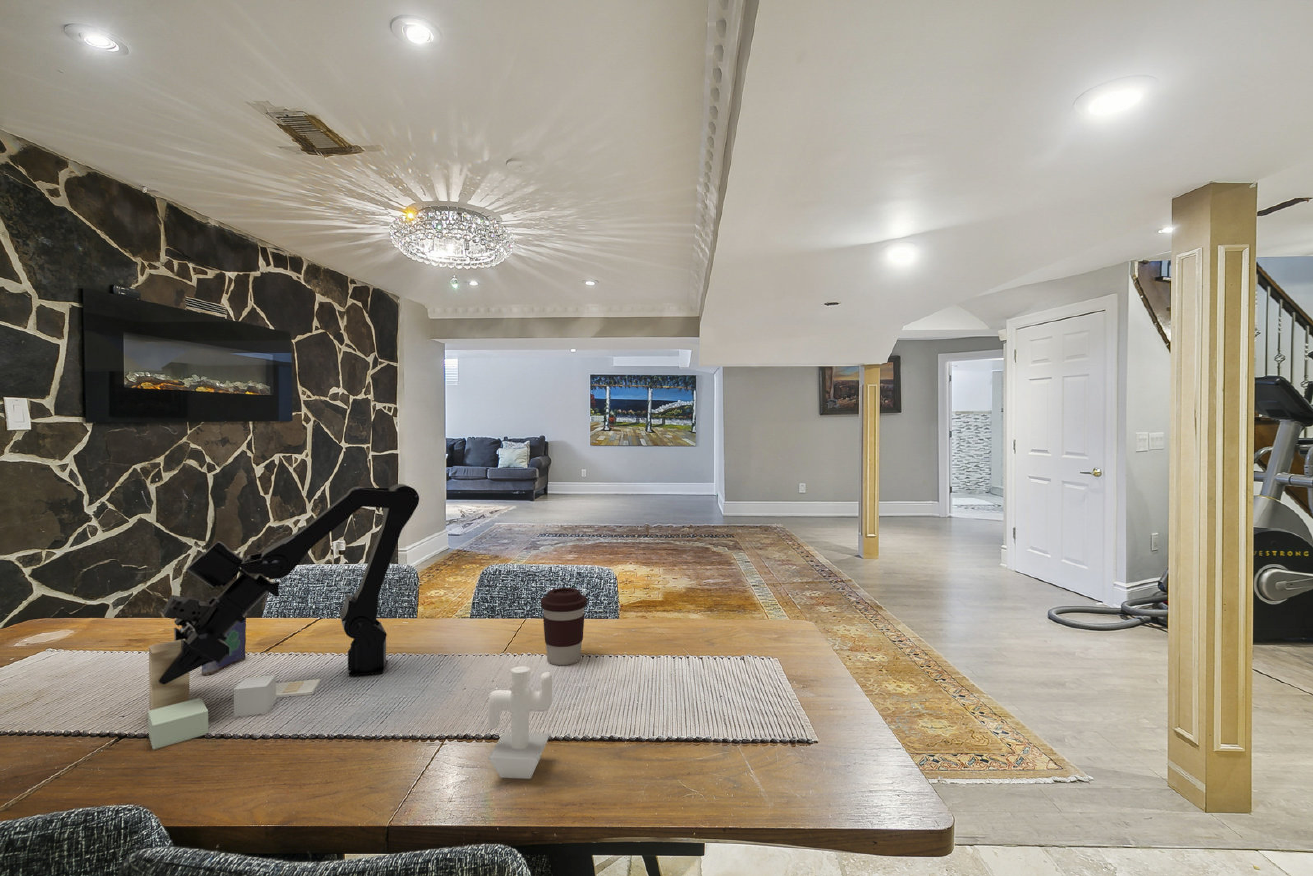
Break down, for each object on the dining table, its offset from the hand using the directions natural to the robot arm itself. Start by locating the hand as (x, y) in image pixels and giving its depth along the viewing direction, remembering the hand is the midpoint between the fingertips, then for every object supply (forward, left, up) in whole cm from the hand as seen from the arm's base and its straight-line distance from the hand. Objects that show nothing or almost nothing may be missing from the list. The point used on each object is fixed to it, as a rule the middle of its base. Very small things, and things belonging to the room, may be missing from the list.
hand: (159, 678), depth 104 cm
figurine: (-60, +33, -7) cm, 69 cm away
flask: (-1, -23, -7) cm, 24 cm away
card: (-19, -6, -7) cm, 21 cm away
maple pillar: (-1, -1, -7) cm, 7 cm away
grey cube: (-15, +1, -7) cm, 17 cm away
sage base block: (-6, +8, -7) cm, 12 cm away
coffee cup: (-71, -8, -7) cm, 72 cm away
